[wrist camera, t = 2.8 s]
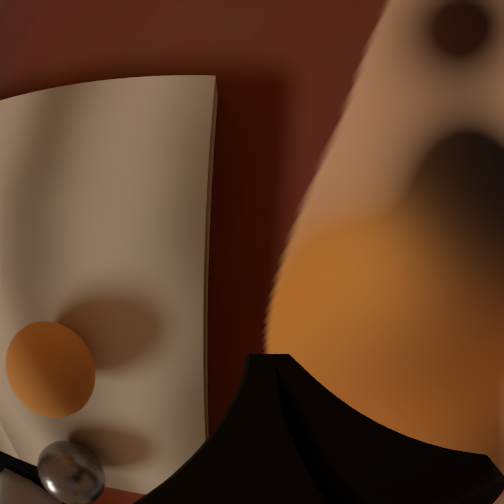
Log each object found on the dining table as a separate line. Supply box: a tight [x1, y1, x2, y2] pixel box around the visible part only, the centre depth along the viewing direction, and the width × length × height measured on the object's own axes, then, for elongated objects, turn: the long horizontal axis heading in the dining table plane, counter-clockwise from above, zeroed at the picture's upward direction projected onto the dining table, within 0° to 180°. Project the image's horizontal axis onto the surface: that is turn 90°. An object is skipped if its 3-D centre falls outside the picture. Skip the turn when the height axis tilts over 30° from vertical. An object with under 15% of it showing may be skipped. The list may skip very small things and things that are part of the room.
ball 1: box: [6, 321, 96, 418], centre depth 8 cm, size 3×3×3 cm
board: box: [0, 75, 218, 494], centre depth 10 cm, size 18×18×2 cm
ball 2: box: [37, 441, 106, 504], centre depth 9 cm, size 3×3×3 cm
